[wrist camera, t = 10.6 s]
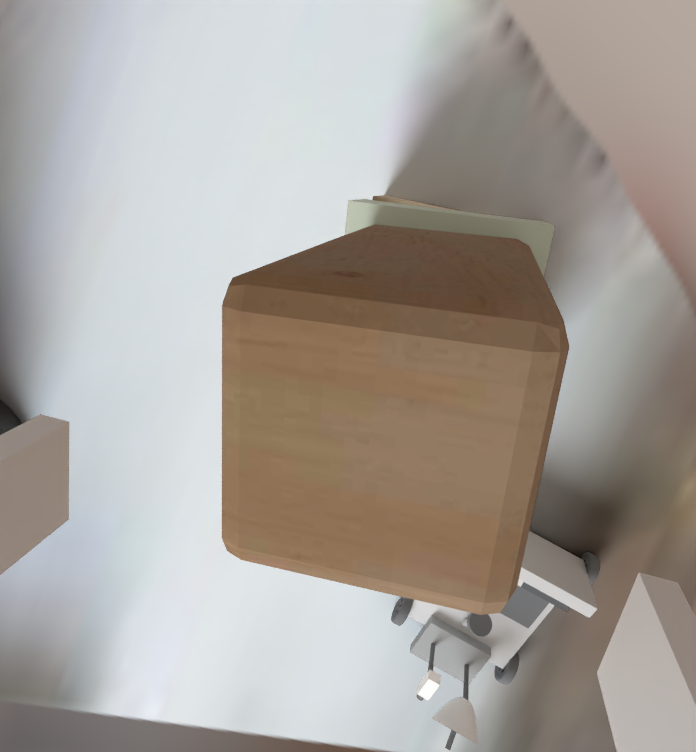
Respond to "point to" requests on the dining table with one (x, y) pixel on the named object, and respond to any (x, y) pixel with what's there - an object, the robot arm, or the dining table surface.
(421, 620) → the white toy machine
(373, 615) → the dining table surface
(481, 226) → the tower top
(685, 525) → the dining table surface
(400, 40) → the dining table surface
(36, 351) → the dining table surface
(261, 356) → the wooden block
